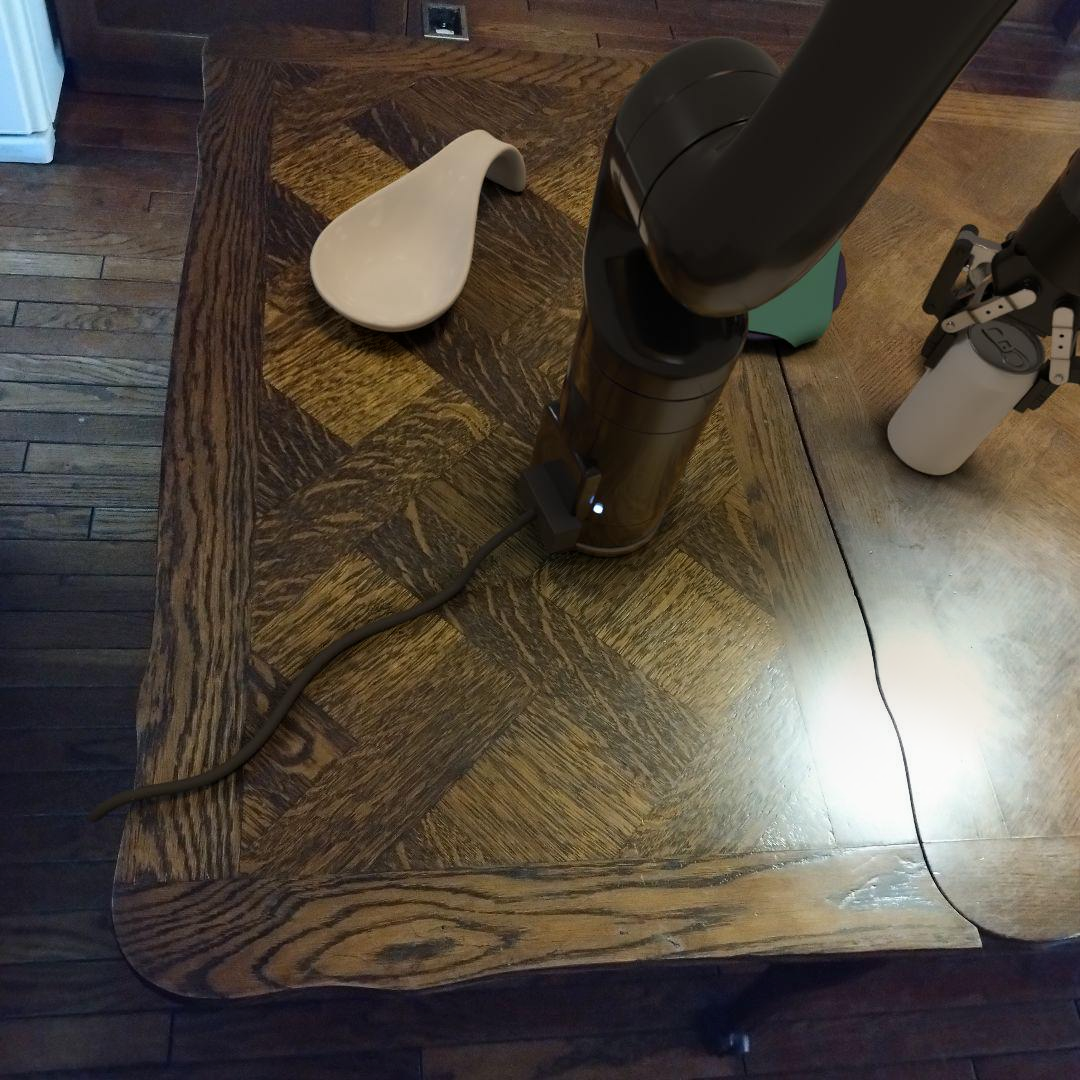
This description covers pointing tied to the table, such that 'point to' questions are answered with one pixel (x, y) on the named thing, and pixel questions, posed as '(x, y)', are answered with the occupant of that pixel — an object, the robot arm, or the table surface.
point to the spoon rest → (412, 237)
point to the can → (965, 395)
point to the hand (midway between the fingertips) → (975, 381)
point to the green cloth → (803, 304)
